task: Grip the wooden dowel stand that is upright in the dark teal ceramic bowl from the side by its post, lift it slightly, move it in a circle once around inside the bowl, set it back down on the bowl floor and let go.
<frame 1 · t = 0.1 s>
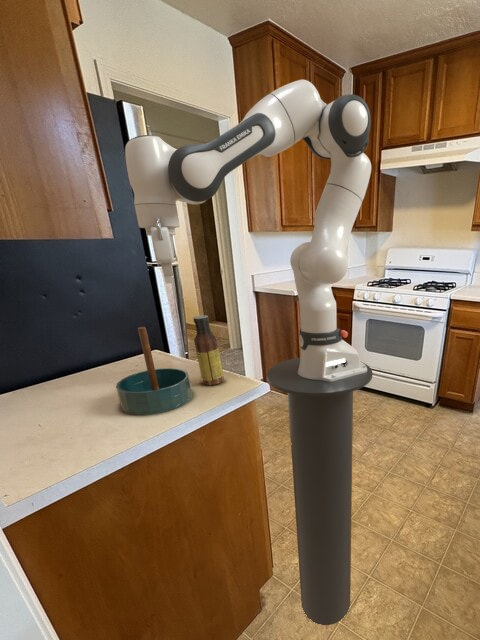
hand: (170, 281, 87), 30 cm above the counter, tool pointing down, fingers open, 8 cm apart
wooden dowel stand: (157, 398, 95), point 1 cm above the counter, touching bowl
bowl: (158, 400, 95), on the counter
sauce bottle: (213, 382, 106), on the counter
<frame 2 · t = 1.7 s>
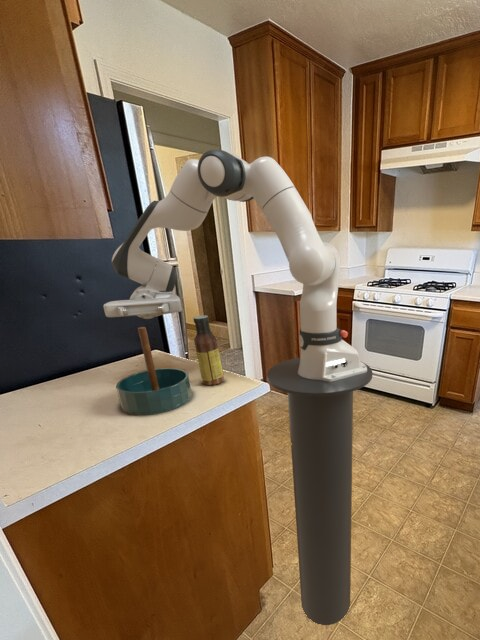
hand: (143, 311, 97), 22 cm above the counter, tool horizontal, fingers open, 8 cm apart
nothing on the counter moved.
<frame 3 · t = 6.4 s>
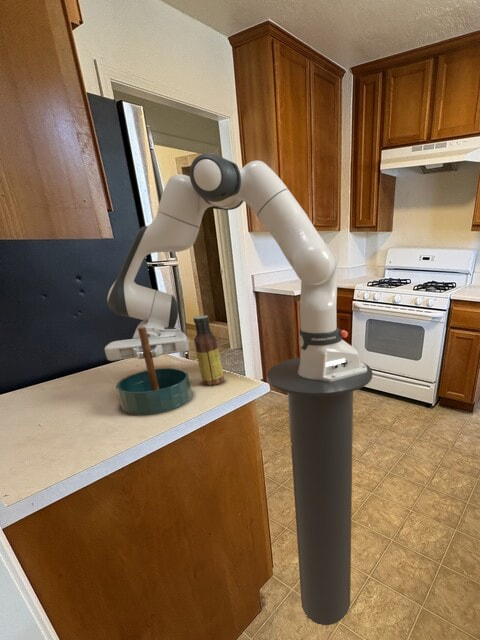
hand: (147, 355, 89), 13 cm above the counter, tool horizontal, fingers closed on wooden dowel stand, 2 cm apart
wooden dowel stand: (157, 398, 95), point 1 cm above the counter, touching bowl, gripper
everything else where it was.
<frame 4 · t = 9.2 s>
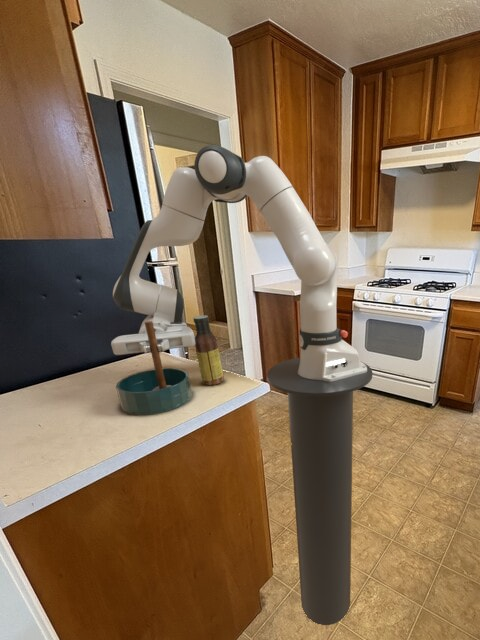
hand: (154, 349, 89), 14 cm above the counter, tool horizontal, fingers closed on wooden dowel stand
wooden dowel stand: (164, 392, 94), point 2 cm above the counter, touching gripper
everything else where it was.
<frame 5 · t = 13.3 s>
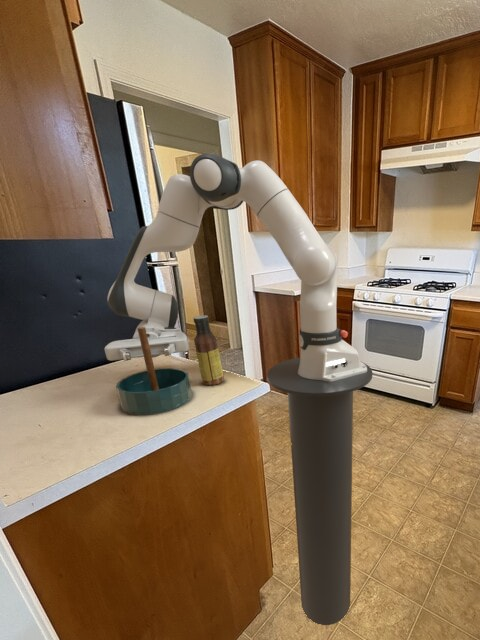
hand: (147, 354, 89), 13 cm above the counter, tool horizontal, fingers open, 8 cm apart
wooden dowel stand: (157, 398, 95), point 1 cm above the counter, touching bowl
everything else where it was.
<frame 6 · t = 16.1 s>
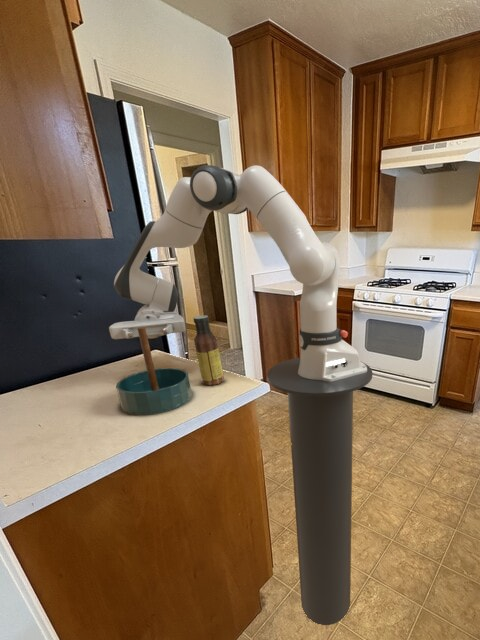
hand: (147, 333, 99), 16 cm above the counter, tool horizontal, fingers open, 8 cm apart
nothing on the counter moved.
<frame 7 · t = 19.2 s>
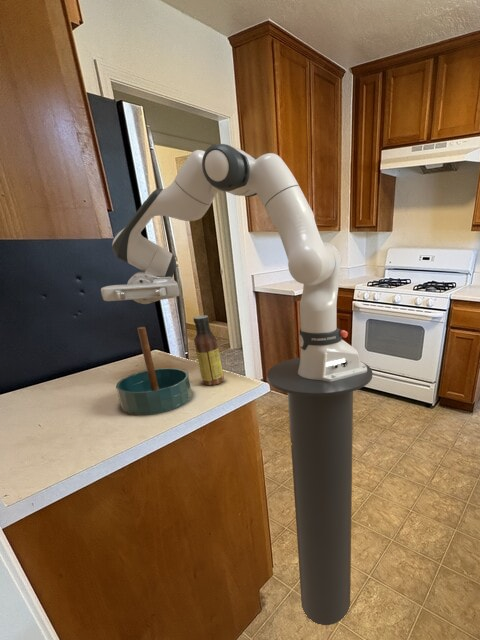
hand: (140, 294, 97), 26 cm above the counter, tool horizontal, fingers open, 8 cm apart
nothing on the counter moved.
at the end: wooden dowel stand inside the target area in the bowl (0.1 cm from its centre), point 0.6 cm above the bowl's base; wooden dowel stand tilted 0°; the gripper is holding nothing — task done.
